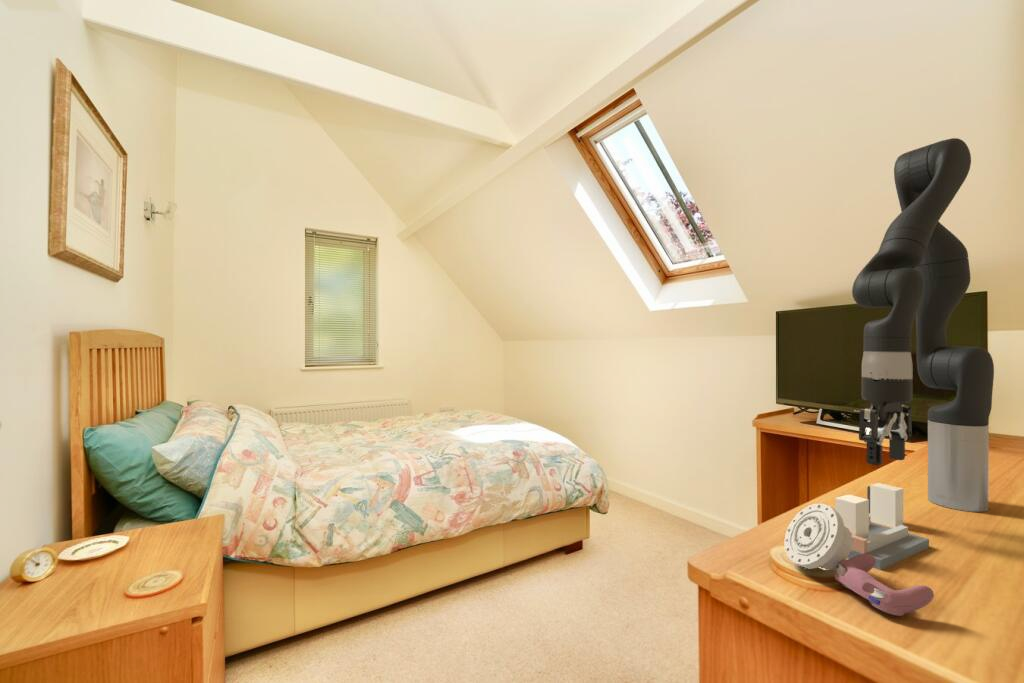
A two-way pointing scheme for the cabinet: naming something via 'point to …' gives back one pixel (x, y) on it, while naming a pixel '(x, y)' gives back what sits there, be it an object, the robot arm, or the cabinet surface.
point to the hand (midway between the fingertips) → (885, 461)
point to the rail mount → (876, 534)
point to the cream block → (885, 504)
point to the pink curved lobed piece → (880, 587)
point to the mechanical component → (818, 538)
